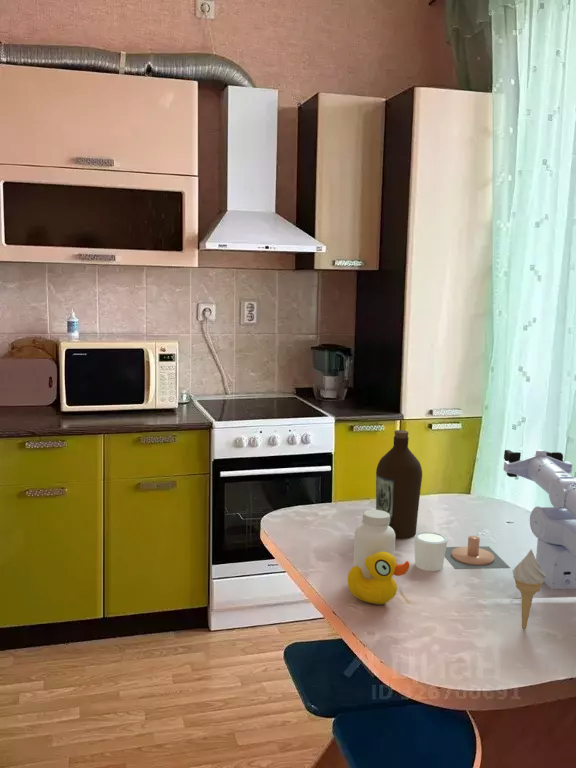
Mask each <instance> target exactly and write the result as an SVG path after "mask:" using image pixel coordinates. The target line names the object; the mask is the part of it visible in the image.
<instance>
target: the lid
mask: <svg viewBox="0 0 576 768" xmlns="http://www.w3.org/2000/svg"><path fill="white" fill-rule="evenodd" d="M467 537H468V540H467V546H457V547H458V548H455V549H453V550H452V557H453V558H454V559H455V560H457V561H459V562H462V563H465V564H470V565H488V564H491V563H492V562H493V561H494V555H493V554H492V553H491V552H489V551H487V550H484V549H481V548H479V546H480V542H481V538H480V537H479V536H478V535H469V536H467Z"/></svg>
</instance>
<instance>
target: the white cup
mask: <svg viewBox="0 0 576 768" xmlns="http://www.w3.org/2000/svg"><path fill="white" fill-rule="evenodd" d="M413 540H414V543H413V544H414V565H415V567H416V568H417V569H420V570H423V571H427V572H436V571H440V570H442V569H443V567H444V563H445V558H446V557H445V551H446V547H447V544H448V538H447V536H446V535H443V534H441V533H437V532H431V531H430V532H429V531H423V532H418V533H417V532H416V534H415V536H414V537H413Z"/></svg>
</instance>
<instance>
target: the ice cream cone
mask: <svg viewBox="0 0 576 768" xmlns="http://www.w3.org/2000/svg"><path fill="white" fill-rule="evenodd" d="M512 575H513V576H512V577H513V579H514V583H515V587H516V588H517V589H518V590H519V592H520V596H521V597H520V598H521V600H520V601H521V602H520V605H521V606H520V607H521V629H522V630H523V631H526V630H527V626H528V621H529V617H530V612H531V608H532V603H533V600H534V599H533V598H534V596H535V595H536V594H537V593H539V591H541V587H542V586H543V584H545V583H544V577H546V575H545V573H544V572H543V571H542V570H541V566H540V565H539V563H538V561H537V560H536V555H535V554H534V552H533V549H532V548H530V550H529V551H528V553H527V554H526V556H524V557H523V559H522V560H521V561H520V562H519V563H518V564H517V565H516V566H515V567H514V568H513V570H512Z"/></svg>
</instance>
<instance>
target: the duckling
mask: <svg viewBox="0 0 576 768" xmlns="http://www.w3.org/2000/svg"><path fill="white" fill-rule="evenodd" d="M397 563H398V562H397V559H396V557H395V555H394V556H393V555H391V554H390V553H388V552H384V551H381V552H377V553H375V554H373V555H371V556H369V557H367V558H366V559H365V565H366V567H367V568H368V571H369V573H370V574H371V575H372V576H373V577H374V578H373V579H367V578H365V577H364V576H363V573H362V570H361V568H360V567H358V566H354V567H353V566H352V568H351V569H350V570H349V571H348V574H347V586H348V591H349V592H350V593H351V594H352V595H353V596H354V597H355V598H357V599H359V600H361V601H362V602H364V603H369V604H373V605H384V604H386V603H388V602H390V601H392V599H394V597H395V596H396V594H397V591H398V584H397V582H396V580H395V579H394V576H397V577H401V576H403V575H406V573H407V572H408V570H409V568H410V562H409V561H408V560H406V561H405V562H404V563H402V564H401V563H400V564H399V563H398V564H397ZM392 576H393V578H392Z"/></svg>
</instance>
